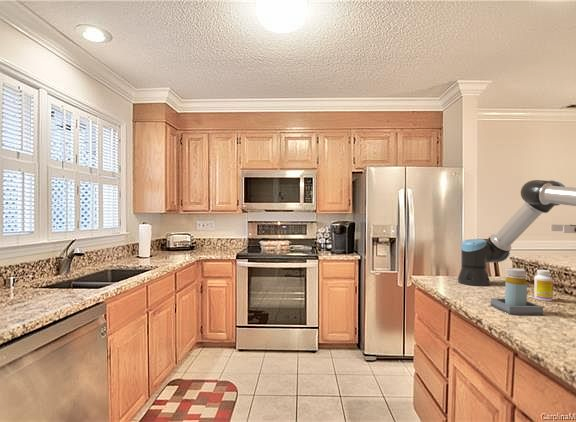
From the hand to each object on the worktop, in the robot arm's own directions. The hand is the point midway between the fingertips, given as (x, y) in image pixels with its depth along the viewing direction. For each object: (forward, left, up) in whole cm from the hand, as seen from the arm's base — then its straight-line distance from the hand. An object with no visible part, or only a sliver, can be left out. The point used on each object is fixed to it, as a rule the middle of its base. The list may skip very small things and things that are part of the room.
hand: (556, 228), depth 141 cm
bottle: (+4, -19, -31) cm, 37 cm away
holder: (+4, -19, -32) cm, 37 cm away
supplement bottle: (-13, +4, -32) cm, 35 cm away
